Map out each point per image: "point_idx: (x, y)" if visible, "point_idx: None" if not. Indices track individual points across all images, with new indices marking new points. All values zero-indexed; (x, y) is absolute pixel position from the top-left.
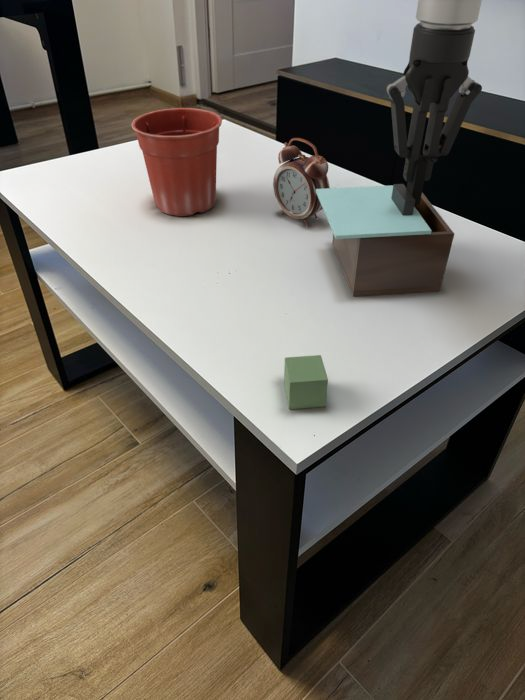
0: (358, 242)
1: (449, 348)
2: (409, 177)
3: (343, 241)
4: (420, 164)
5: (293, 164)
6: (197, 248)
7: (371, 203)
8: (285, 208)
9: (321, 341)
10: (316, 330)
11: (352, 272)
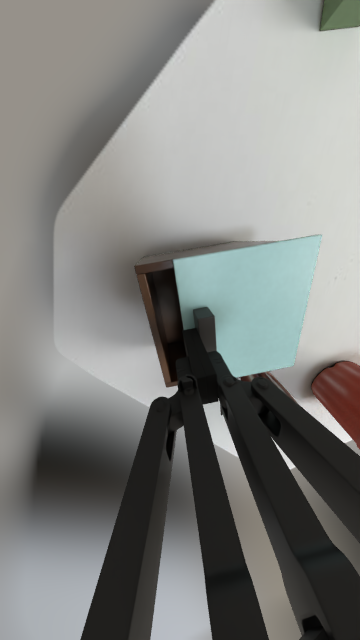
0: None
1: (145, 120)
2: (214, 356)
3: None
4: (209, 371)
5: None
6: (347, 316)
7: (240, 337)
8: (270, 374)
9: (289, 141)
10: (288, 167)
11: None
